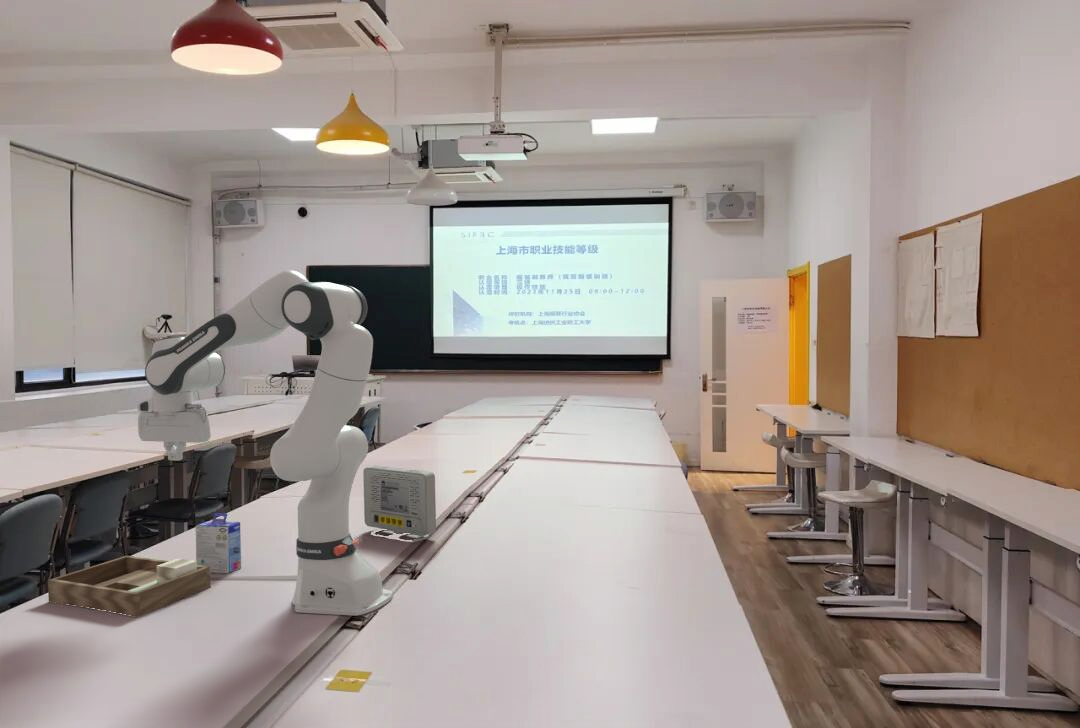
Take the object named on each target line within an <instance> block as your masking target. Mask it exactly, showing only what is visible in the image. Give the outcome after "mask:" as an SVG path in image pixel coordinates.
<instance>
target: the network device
mask: <svg viewBox="0 0 1080 728" xmlns="http://www.w3.org/2000/svg"><path fill="white" fill-rule="evenodd" d="M362 474H363V475H362V477H363V505H364V506H363V511H364V513H363V514H364V515H363V516H364V523H365V525H366V527H370V528H377V529H387V530H386V531H392V530H393V533H396V534H403V533H410V534H409V535H415V534H416V536H419V537H416V538H413V540H412V539H411V540H412V541H413V542H412V543H419V542H420V541H424V540H426V539H429V536H430V535H431V534H434V533H435V532H436V530H437V515H436V514H437V510H436V509H437V508H436V505H437V503H436V502H437V501H436V476H435V473H434V472H433V471H429V470H419V469H410V468H401V467H400V468H399V467H392V466H383V465H372V466H371V465H370V466H368V467H364V468H363V473H362Z"/></svg>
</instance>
